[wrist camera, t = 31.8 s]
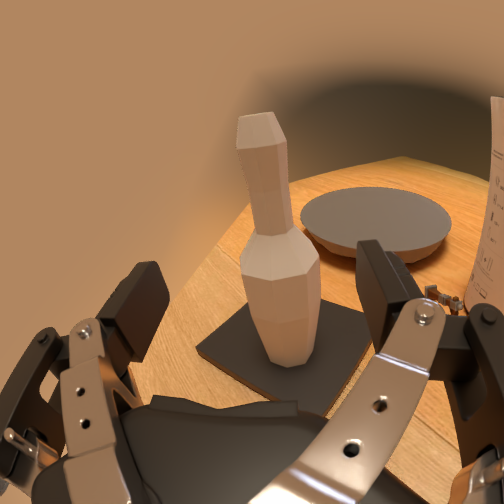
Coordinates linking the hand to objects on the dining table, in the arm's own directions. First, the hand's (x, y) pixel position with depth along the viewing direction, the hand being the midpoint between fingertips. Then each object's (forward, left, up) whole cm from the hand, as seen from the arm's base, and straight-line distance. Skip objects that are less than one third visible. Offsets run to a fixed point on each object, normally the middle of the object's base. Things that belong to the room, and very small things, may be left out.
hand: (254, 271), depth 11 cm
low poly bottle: (-5, +8, -17) cm, 19 cm away
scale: (-7, +10, -18) cm, 21 cm away
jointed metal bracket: (+8, +22, -18) cm, 29 cm away
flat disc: (-7, +39, -18) cm, 43 cm away
